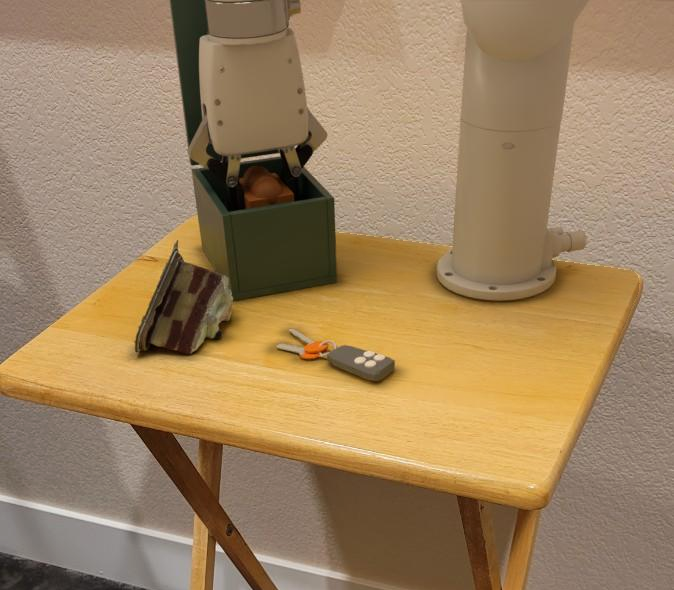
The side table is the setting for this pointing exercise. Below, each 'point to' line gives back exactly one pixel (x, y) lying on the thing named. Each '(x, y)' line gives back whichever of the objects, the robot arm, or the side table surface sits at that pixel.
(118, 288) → the side table surface
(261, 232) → the box
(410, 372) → the side table surface
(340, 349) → the key chain
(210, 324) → the chocolate cake
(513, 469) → the side table surface
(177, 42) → the bread lid
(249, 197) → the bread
